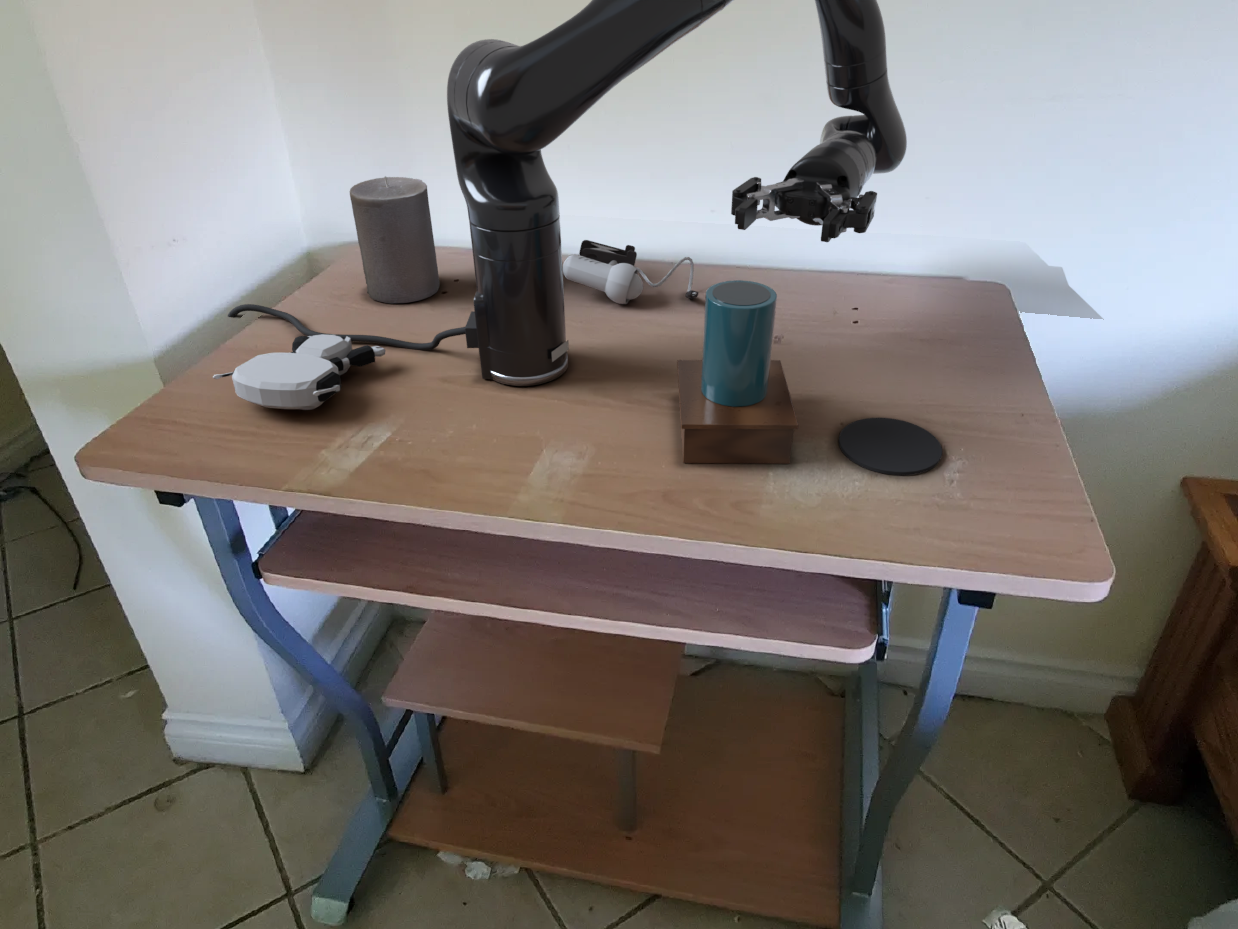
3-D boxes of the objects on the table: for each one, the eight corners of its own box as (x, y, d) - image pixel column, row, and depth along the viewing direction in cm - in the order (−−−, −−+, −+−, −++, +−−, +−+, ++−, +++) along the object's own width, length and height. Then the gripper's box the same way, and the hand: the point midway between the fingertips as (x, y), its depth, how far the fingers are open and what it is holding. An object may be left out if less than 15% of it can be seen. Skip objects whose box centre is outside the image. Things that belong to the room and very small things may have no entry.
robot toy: (304, 357, 101) (216, 412, 89) (297, 321, 99) (206, 372, 87) (396, 372, 98) (318, 430, 86) (391, 334, 96) (310, 389, 84)
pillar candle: (352, 293, 115) (329, 180, 106) (406, 270, 121) (388, 161, 113) (403, 310, 110) (383, 193, 102) (456, 285, 117) (442, 173, 108)
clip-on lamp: (701, 302, 118) (579, 263, 120) (714, 259, 115) (588, 219, 117) (684, 331, 108) (552, 287, 110) (698, 284, 105) (561, 240, 107)
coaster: (849, 475, 79) (849, 471, 79) (830, 420, 87) (831, 417, 87) (954, 475, 79) (955, 472, 79) (926, 420, 87) (926, 417, 86)
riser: (680, 465, 81) (681, 424, 78) (676, 397, 91) (677, 359, 89) (793, 465, 80) (798, 424, 78) (776, 398, 91) (780, 360, 88)
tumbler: (702, 407, 81) (707, 307, 75) (699, 374, 86) (703, 279, 80) (771, 407, 80) (781, 307, 75) (763, 374, 86) (772, 279, 80)
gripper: (768, 139, 97) (716, 178, 85) (897, 152, 91) (860, 196, 79) (763, 205, 101) (712, 252, 89) (885, 222, 95) (849, 273, 84)
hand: (782, 226), depth 84 cm, fingers open, 8 cm apart
